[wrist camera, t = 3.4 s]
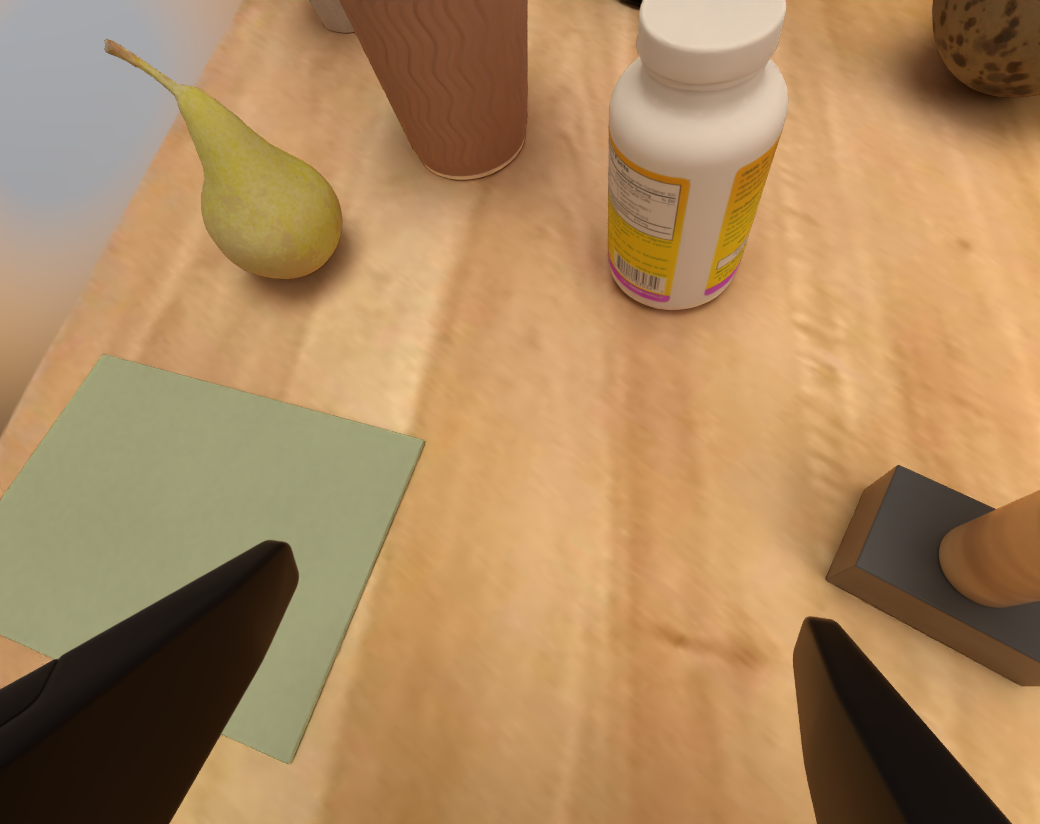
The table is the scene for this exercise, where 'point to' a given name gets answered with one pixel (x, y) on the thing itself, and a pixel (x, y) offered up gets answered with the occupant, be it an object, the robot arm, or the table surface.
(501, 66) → the coffee cup
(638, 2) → the battery
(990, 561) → the hammer
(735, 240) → the supplement bottle
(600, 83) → the table surface
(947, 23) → the decorative egg
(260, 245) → the fruit
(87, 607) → the mat
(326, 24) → the house plant
